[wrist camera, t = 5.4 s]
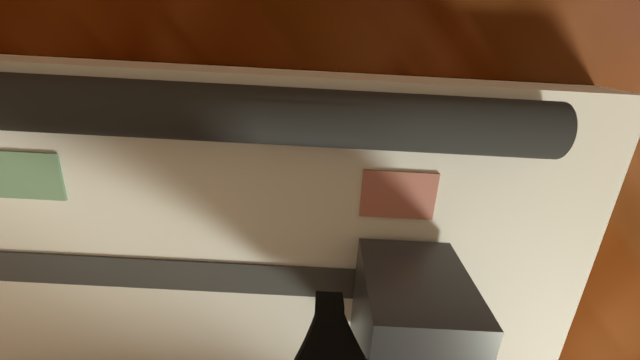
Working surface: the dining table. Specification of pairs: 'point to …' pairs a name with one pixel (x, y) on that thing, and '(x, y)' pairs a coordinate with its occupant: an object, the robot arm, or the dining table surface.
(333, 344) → the robot arm
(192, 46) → the dining table surface
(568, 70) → the dining table surface
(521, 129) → the dark grey guard rails
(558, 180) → the panel
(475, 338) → the block
